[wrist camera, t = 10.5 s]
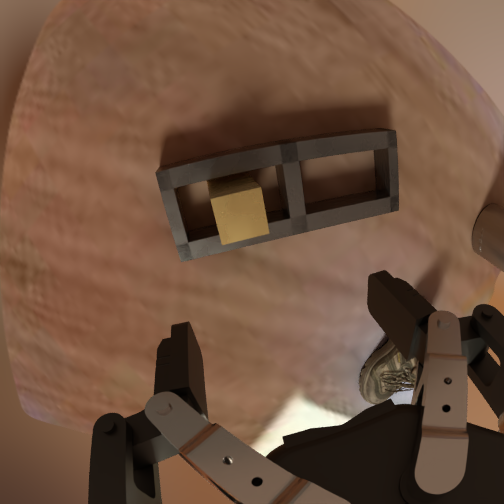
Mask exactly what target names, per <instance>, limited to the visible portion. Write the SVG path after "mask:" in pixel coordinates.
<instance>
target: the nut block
mask: <svg viewBox="0 0 504 504" xmlns="http://www.w3.org/2000/svg"><path fill="white" fill-rule="evenodd" d="M207 184H208V189H209V194H210V199H211V203H212V207H213V211H214V215H215V219H216V223H217V227H218V231H219V235H220V239H221V243H222V245H225V244H229V243H233V242H237V241H241V240H245V239H249V238H253V237H258V236H262V235H266V234H269V228H268V222H267V217H266V211H265V206H264V200H263V195H262V190H261V187H260V185H259V184H258V183H257V182H256V181H255V180H254V179H253V178H252V177H251V176H250V175H249V174H248V173H247V172H242V173H238V174H233V175H229V176H225V177H220V178H216V179H212V180H208V181H207Z"/></svg>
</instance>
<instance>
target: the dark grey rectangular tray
mask: <svg viewBox="0 0 504 504" xmlns="http://www.w3.org/2000/svg"><path fill="white" fill-rule="evenodd" d="M368 150H374V160H375V177H376V190H373V191H368V192H363V193H358V194H352V195H347V196H342V197H338V198H333V199H328V200H323V201H318V202H313V203H309V204H305V203H304V194H303V186H302V179H301V171H300V164H299V161H302V160H308V159H314V158H320V157H326V156H333V155H339V154H346V153H353V152H361V151H368ZM274 165H275V166H276V173H277V179H278V185H279V192H280V199H281V205H282V209H281V210H276V211H272V212H267V213H266V217H267V222H268V228H269V234H266V235H262V236H258V237H253V238H249V239H245V240H241V241H237V242H233V243H229V244H225V245H222V243H221V239H220V235H219V231H218V227H217V224H216V225H212V226H208V227H203V228H199V229H195V230H191V231H188V227H187V224H186V220H185V216H184V213H183V209H182V205H181V201H180V197H179V194H178V190H177V187H180V186H184V185H188V184H192V183H196V182H201V181H205V180H209V179H213V178H218V177H222V176H226V175H231V174H235V173H240V172H245V171H249V170H254V169H259V168H264V167H269V166H274ZM156 177H157V180H158V184H159V188H160V192H161V195H162V199H163V202H164V206H165V210H166V213H167V217H168V220H169V224H170V227H171V230H172V234H173V237H174V240H175V244H176V247H177V250H178V253H179V257H180V260H181V262H184V261H188V260H192V259H196V258H200V257H204V256H208V255H213V254H217V253H221V252H225V251H229V250H233V249H237V248H242V247H246V246H250V245H254V244H258V243H262V242H267V241H271V240H275V239H279V238H283V237H288V236H292V235H296V234H300V233H304V232H309V231H313V230H317V229H321V228H326V227H330V226H334V225H338V224H343V223H347V222H351V221H355V220H360V219H364V218H368V217H373V216H377V215H381V214H386V213H390V212H394V211H399V180H398V154H397V138H396V131H395V130H389V129H383V128H376V129H365V130H354V131H345V132H336V133H328V134H320V135H313V136H306V137H299V138H293V139H287V140H281V141H275V142H269V143H263V144H258V145H253V146H247V147H242V148H238V149H233V150H228V151H223V152H219V153H214V154H210V155H205V156H201V157H197V158H193V159H189V160H185V161H181V162H177V163H173V164H169V165H165V166H162V167H159V168H158V170H157V171H156Z"/></svg>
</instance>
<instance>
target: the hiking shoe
mask: <svg viewBox="0 0 504 504" xmlns="http://www.w3.org/2000/svg"><path fill="white" fill-rule="evenodd" d="M417 362H418V359H417V358H416V357H415V358H413V359H411V360H409V361H406V359H405V358H404V357H403V355H402V354H401V353H400V351H399V350H398V349H397V347H396V346H395V345H394V344H393V342H392V341H391V340H390V338H389V340H388V342H387V343H386V344H385V345H384V346H383V347H382V348H381V349H379V350H376V351H375V352H374V353H372V357H370V358H369V359H368V360H367V361H366V363H365V368H364V369H362V371H361V373H360V374H361V378H359V385H360V389H359V390H360V392H361V395H362V397H363V398H364V399H365V400H366V401H367V402H369V403H371V404H375V405H377V404H379V403H382V402H384V401H385V400H387V399H388V398H389V397H390V396H391V395H393V394H394V392H395V393H397V392H399V391H408V389H406V390H402V389H404V388H402V387H406V388H414V384H415V376H416V368H417ZM411 381H412V382H411ZM402 382H404V383H405V382H409V383H411V384H404V383H402ZM401 388H402V389H401ZM397 389H399V390H397ZM410 390H413V389H410Z"/></svg>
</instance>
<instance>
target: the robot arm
mask: <svg viewBox="0 0 504 504" xmlns="http://www.w3.org/2000/svg"><path fill="white" fill-rule="evenodd" d="M472 245H473V249H474V251H475V252H476V253H477V254H478V255H480V256H481V257H483V258H484V259H486V260H487V261H489V262H490V263H491V264H493V265H494V266H496V267H497V268H499V269H500V270H501V271H503V272H504V208H502V207H500V206H498V205H496V204H490V205H488V206H487V207H486V208H485V209H484V210H483V211H482V212H481V214H480V215H479V217H478V219H477V221H476V224H475V227H474V230H473V235H472ZM367 305H368V309H369V312H370V314H371V315H372V317H373V318H374V319H375V320H376V322H377V323H378V324H379V326H380V327H381V328H382V329H383V331H384V332H385V333H386V335H387V336H388V337H389V338H390V340H391V341H392V342H393V344H394V345H395V346H396V347H397V349H398V350H399V351H400V353H401V354H402V355H403V357H404V358H405V359H406V361H409V360H411V359H413V358H415V357H416V358H417V359H418V362H417V368H416V376H415V384H414V391H413V397H412V402H411V404H398V405H394V403H393V401H392V400H391V399H388V400H386V401H384V402H382V403H379V404H377V405H374V406H372V407H370V408H367V409H365V410H364V411H362V412H361V413H360V414H358V415H357V416H355V417H354V418H352V419H351V420H349V421H348V422H346V423H344V424H342V425H338V426H330V427H321V428H311V429H308V430H304V431H301V432H297V433H294V434H290V435H287V436H283V441H284V444H283V445H281V446H279V447H277V448H276V449H274V450H273V451H271V452H270V453H269V454H268V455H267V456H266V457H264V456H263V455H261V454H260V453H258V452H257V451H255V450H254V449H252V448H251V447H249V446H248V445H246V444H245V443H244V442H242V441H241V440H239V439H238V438H237V437H235V436H234V435H233V434H231V433H230V432H228V431H227V430H226V429H224V428H223V427H222V426H220V425H219V424H216V423H215V424H211V423H210V422H209V421H208V412H207V402H206V392H205V381H204V369H203V359H202V354H201V350H200V347H199V345H198V342H197V340H196V337H195V335H194V332H193V329H192V327H191V324H190V322H184V323H179V324H175V325H172V326H171V338H166V339H163V340H162V341H161V343H160V345H159V347H158V348H157V360H156V371H155V384H154V396H152V397H151V398H150V399H149V400H148V402H147V403H146V405H145V409H144V410H143V411H141V412H139V413H137V414H134V415H132V416H129V417H127V418H123V416H121V415H120V414H117V413H108V414H105V415H103V416H101V417H100V418H99V419H98V420H97V421H96V423H95V425H94V428H93V435H92V446H91V458H90V472H89V497H88V504H162V499H161V490H160V480H159V468H158V462H160V461H162V460H165V459H167V458H170V457H172V456H174V455H177V454H179V455H180V456H181V457H182V458H183V459H184V460H185V461H186V462H187V463H188V464H189V465H190V466H191V467H192V468H193V469H194V470H196V471H197V472H198V473H199V474H200V475H201V476H202V477H203V478H205V479H206V480H207V481H208V482H209V483H210V484H211V485H212V486H213V487H214V488H216V489H217V490H218V491H219V492H220V493H222V494H223V495H224V496H225V497H226V498H228V499H229V500H230V501H232V502H233V503H234V504H504V316H503V315H502V314H501V313H500V312H499V311H498V310H497V309H496V308H495V307H493V306H491V305H487V304H481V305H478V306H476V307H475V308H474V310H473V314H472V316H468V317H462V318H457V317H456V315H454V314H453V313H451V312H448V311H437V310H436V309H435V308H434V307H433V306H432V305H431V304H430V303H429V302H428V301H427V300H426V299H424V298H423V297H422V296H421V295H419V293H418V292H417V291H416V290H415V289H413V287H412V286H411V285H410V284H408V283H407V282H406V281H404V280H402V279H399V278H393V277H392V276H391V275H390V274H389V273H388V272H387V271H386V270H383V271H380V272H377V273H373V274H370V275H369V277H368V297H367ZM489 347H490V348H491V349H492V350H493V352H494V353H495V354H496V355H497V356H498V358H499V360H500V366H499V365H498V364H497V362H496V361H494V359H493V358H492V357H491V355H490V354H489V353H488V349H489ZM467 375H468V376H469V377H470V379H471V380H472V381H473V383H474V384H475V386H476V387H477V388H478V390H479V391H480V393H481V394H482V395H483V397H484V398H485V400H486V401H487V403H488V404H489V405H490V407H491V408H492V410H493V411H494V413H495V414H496V416H497V417H498V419H499V420H498V427H499V431H498V432H496V431H493V430H490V429H486V428H483V427H480V426H477V425H474V424H471V423H468V422H467V394H468V388H467V387H468V383H467Z"/></svg>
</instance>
